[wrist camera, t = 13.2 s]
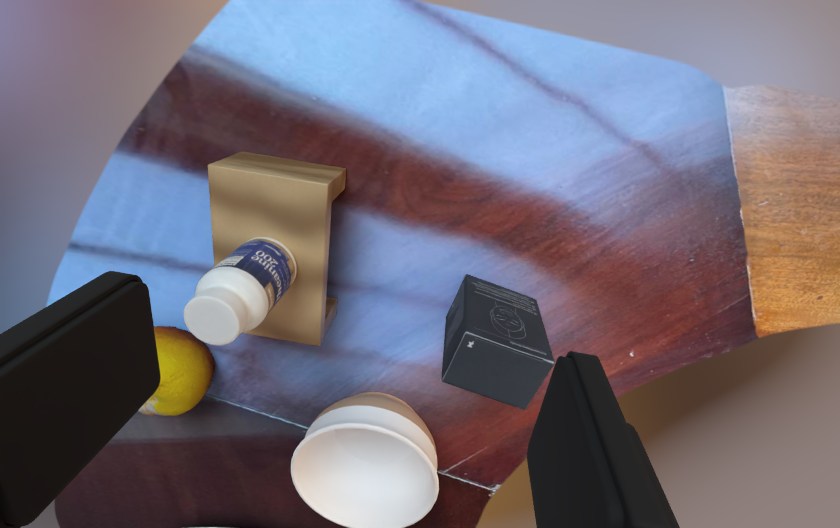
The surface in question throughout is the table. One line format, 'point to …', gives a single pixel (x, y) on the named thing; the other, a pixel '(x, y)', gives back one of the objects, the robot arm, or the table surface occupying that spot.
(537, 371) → the box
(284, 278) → the pill bottle
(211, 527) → the plate
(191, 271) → the table surface
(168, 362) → the fruit
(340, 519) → the bowl
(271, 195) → the shelf
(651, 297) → the table surface
